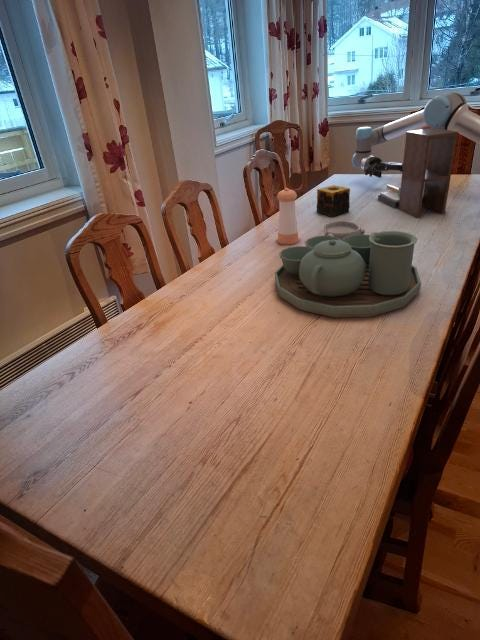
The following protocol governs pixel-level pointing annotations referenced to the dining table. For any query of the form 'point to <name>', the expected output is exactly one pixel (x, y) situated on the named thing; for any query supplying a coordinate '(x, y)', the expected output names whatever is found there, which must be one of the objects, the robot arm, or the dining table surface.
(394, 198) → the whiteboard
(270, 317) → the dining table surface
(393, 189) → the scoop
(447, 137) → the shelf
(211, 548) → the dining table surface
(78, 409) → the dining table surface
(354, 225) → the dish
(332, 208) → the candle
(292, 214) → the pepper shaker
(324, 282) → the tea set
